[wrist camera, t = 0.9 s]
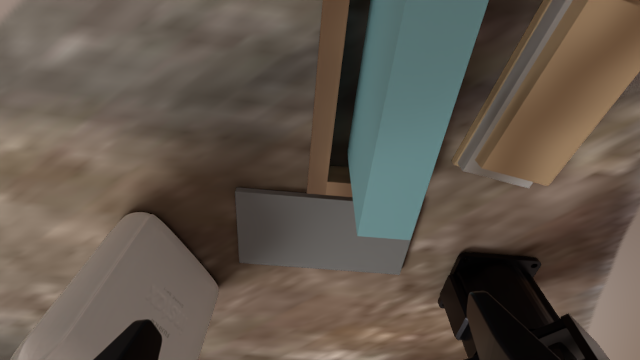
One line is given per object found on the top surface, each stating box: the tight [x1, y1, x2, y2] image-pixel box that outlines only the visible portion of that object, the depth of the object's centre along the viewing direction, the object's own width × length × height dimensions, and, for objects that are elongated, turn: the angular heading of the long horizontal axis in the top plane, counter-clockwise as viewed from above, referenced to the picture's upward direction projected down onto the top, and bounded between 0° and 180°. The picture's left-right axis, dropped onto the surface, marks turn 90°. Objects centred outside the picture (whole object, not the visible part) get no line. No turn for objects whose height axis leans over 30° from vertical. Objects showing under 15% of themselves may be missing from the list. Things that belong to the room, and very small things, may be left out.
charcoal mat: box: [235, 188, 422, 275], centre depth 25 cm, size 13×7×1 cm, turn 85°
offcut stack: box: [452, 0, 640, 188], centre depth 18 cm, size 5×11×3 cm, turn 164°
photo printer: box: [10, 212, 219, 360], centre depth 22 cm, size 10×4×12 cm, turn 22°
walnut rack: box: [307, 0, 353, 197], centre depth 18 cm, size 7×14×2 cm, turn 175°
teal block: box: [347, 0, 489, 240], centre depth 15 cm, size 2×10×8 cm, turn 175°
